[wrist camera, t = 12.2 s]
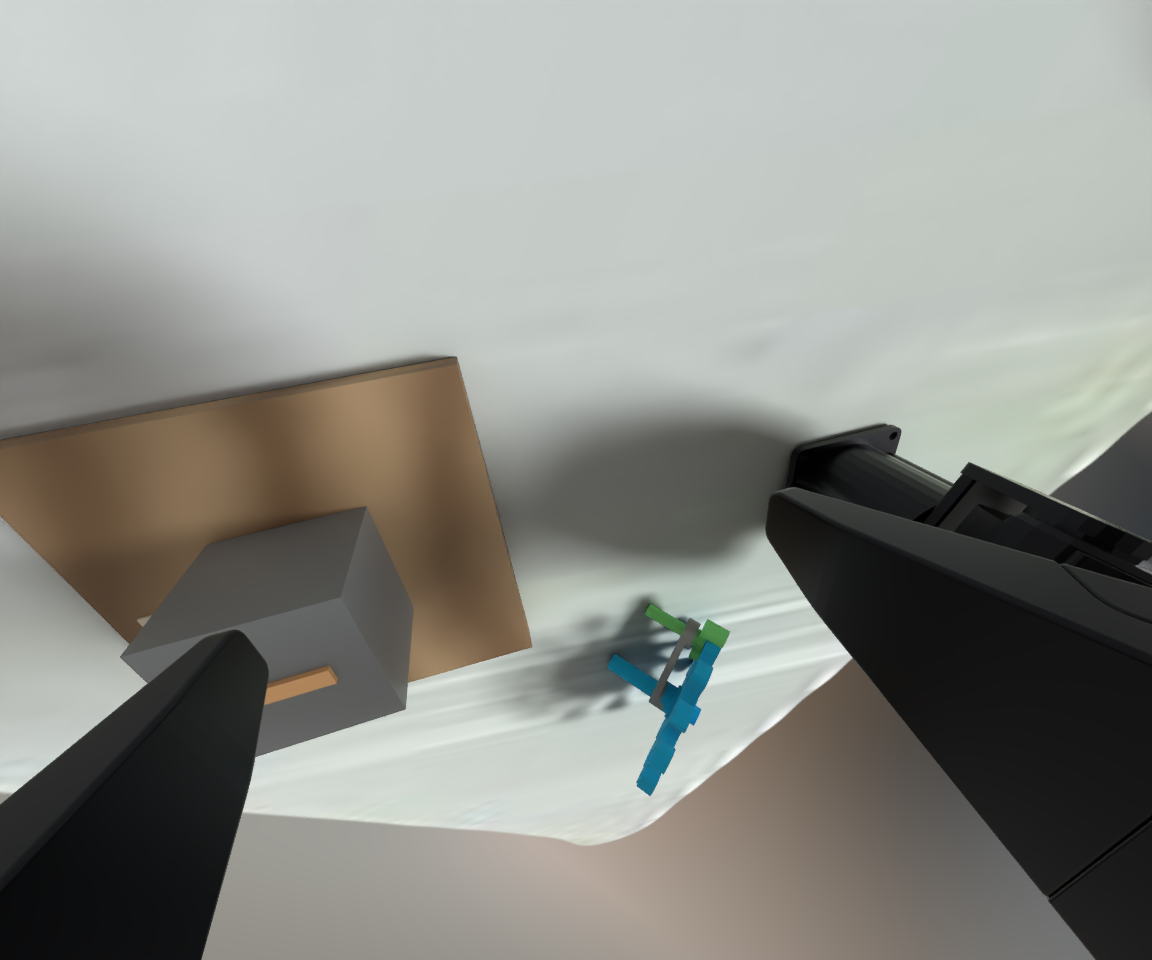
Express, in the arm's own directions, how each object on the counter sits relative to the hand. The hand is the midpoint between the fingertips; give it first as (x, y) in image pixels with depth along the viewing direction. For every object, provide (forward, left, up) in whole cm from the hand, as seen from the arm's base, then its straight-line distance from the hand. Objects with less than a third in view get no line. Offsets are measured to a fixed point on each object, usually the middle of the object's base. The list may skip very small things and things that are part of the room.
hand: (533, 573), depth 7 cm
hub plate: (+9, +7, -12) cm, 17 cm away
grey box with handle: (+9, +7, -11) cm, 16 cm away
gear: (-7, +20, -12) cm, 25 cm away
